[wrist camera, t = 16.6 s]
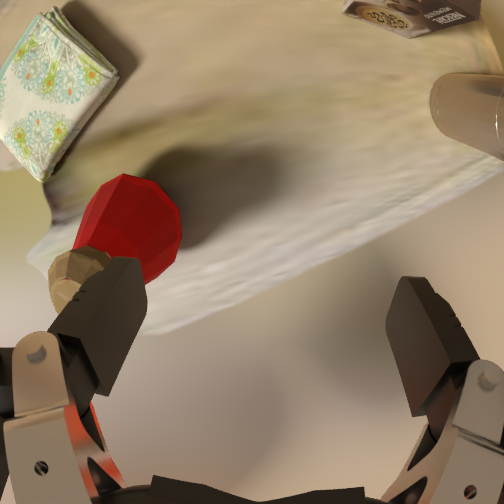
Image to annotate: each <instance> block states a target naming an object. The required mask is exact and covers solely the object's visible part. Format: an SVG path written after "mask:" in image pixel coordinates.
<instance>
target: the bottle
mask: <svg viewBox="0 0 504 504" xmlns="http://www.w3.org/2000/svg"><path fill="white" fill-rule="evenodd" d="M181 238H182V232H181V222H180V212H179V208H178V207H177V206H176V205H175V204H174V202H173V201H172V200H171V199H170V198H169V197H168V196H167V194H166V193H165V192H164V191H163V190H162V189H161V188H160V186H159V185H158V184H157V183H156V182H154V181H150V180H146V179H143V178H139V177H135V176H131V175H128V174H124V173H123V174H121V175H119V176H118V177H116V178H114V179H112V180H110V181H108V182H107V183H105V184H103V185H101V187H100V188H99V190H98V191H97V192H96V194H95V195H94V196H93V198H92V199H91V201H90V202H89V204H88V205H87V207H86V210H85V213H84V215H83V218H82V221H81V224H80V227H79V230H78V233H77V236H76V239H75V242H74V245H73V249H72V250H69V251H67V252H65V253H63V254H61V255H59V256H57V257H56V258H55V260H54V262H53V263H52V265H51V267H50V268H49V270H48V280H49V291H50V295H51V299H52V302H53V305H54V307H55V310H56V312H57V313H58V314H60V313H61V311H62V310H63V309H64V307H65V306H66V305H67V303H68V302H69V301H71V300H72V297H73V296H74V294H75V293H76V292H78V289H79V288H80V287H81V285H82V284H83V283H84V282H85V280H86V279H87V278H89V277H90V276H92V275H93V274H95V273H96V272H98V271H99V270H100V271H103V269H104V268H105V267H106V266H107V264H108V263H109V262H110V261H111V259H112V258H113V257H115V256H120V257H132V258H138V259H139V261H140V263H141V268H142V274H143V279H144V285H146V284H147V283H149V282H151V281H152V280H154V279H155V278H157V277H158V276H159V275H160V274H161V273H162V272H164V271H165V270H166V269H167V268H168V267H169V266H170V265H171V264H172V263H174V261H175V258H176V255H177V251H178V248H179V245H180V241H181Z"/></svg>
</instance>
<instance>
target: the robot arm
mask: <svg viewBox="0 0 504 504" xmlns="http://www.w3.org/2000/svg"><path fill="white" fill-rule="evenodd" d="M430 109H431V114H432V117H433V120H434V122H435V123H436V125H437V127H438V128H439V129H440V131H441V132H443V133H444V134H445V135H446V136H448V137H450V138H452V139H455V140H457V141H460V142H462V143H464V144H467V145H469V146H471V147H474V148H476V149H478V150H481V151H483V152H485V153H487V154H490V155H492V156H494V157H496V158H498V159H500V160H502V161H504V76H497V75H483V74H465V73H451V74H446V75H444V76H442V77H440V78H439V79H438V80H437V81H436V83H435V84H434V86H433V88H432V91H431V95H430ZM146 312H147V295H146V290H145V285H144V279H143V274H142V268H141V263H140V261H139V259H138V258H132V257H120V256H115V257H113V258H112V259H111V261H110V262H109V263H108V264H107V266H106V267H105V268H104V269H103V271H100V270H99V271H98V272H96V273H95V274H93V275H92V276H90V277H89V278H87V279H86V280H85V282H84V283H83V284H82V285H81V287H80V288H79V289H78V292H76V293H75V294H74V296H73V297H72V300H71V301H69V302H68V303H67V305H66V306H65V307H64V309H63V310H62V311H61V313H60V314H59V315H58V317H57V318H56V320H55V321H54V322H53V323H52V325H51V326H50V328H49V329H48V331H47V332H45V331H44V332H43V331H39V332H34V333H31V334H29V335H27V336H25V337H24V338H22V339H21V340H20V341H19V342H18V343H17V345H16V346H15V348H0V500H1V497H2V494H3V491H4V487H5V485H6V482H7V479H8V476H9V473H10V478H11V483H12V488H13V492H14V497H15V500H16V504H504V372H503V370H502V369H501V368H500V367H499V366H498V365H496V364H495V363H493V362H491V361H488V360H481V359H480V357H479V356H478V354H477V352H476V350H475V348H474V346H473V344H472V342H471V341H470V339H469V337H468V335H467V333H466V332H465V330H464V328H463V327H461V323H460V321H459V319H458V318H457V317H456V314H455V313H454V311H453V309H452V308H451V306H450V304H449V303H448V302H447V301H446V300H445V299H443V298H442V297H441V296H440V295H439V294H438V293H435V291H434V290H433V288H432V287H431V285H430V283H429V282H428V280H427V279H426V278H425V277H411V276H403V277H401V279H400V280H399V283H398V286H397V288H396V291H395V294H394V297H393V300H392V303H391V306H390V308H389V311H388V314H387V317H386V333H387V337H388V339H389V342H390V345H391V348H392V351H393V354H394V357H395V360H396V364H397V367H398V370H399V373H400V376H401V379H402V383H403V386H404V389H405V393H406V396H407V400H408V403H409V407H410V410H411V414H412V417H417V416H423V415H427V418H428V422H427V423H426V424H425V425H424V427H423V430H422V431H421V433H420V436H419V438H418V440H417V442H416V444H415V446H414V448H413V450H412V452H411V454H410V456H409V458H408V460H407V462H406V464H405V465H404V468H403V469H402V471H401V473H400V474H399V476H398V477H397V479H396V480H395V481H394V483H393V484H392V485H391V486H390V487H389V488H388V489H387V491H386V492H385V494H384V495H383V496H382V497H381V499H380V500H378V499H374V498H369V497H365V492H364V487H356V488H346V489H333V490H315V491H311V492H307V493H303V494H299V495H295V496H290V497H285V498H280V499H275V500H270V501H264V502H256V501H252V500H248V499H245V498H242V497H238V496H235V495H232V494H229V493H226V492H223V491H220V490H217V489H214V488H212V487H209V486H207V485H203V484H197V483H191V482H185V481H180V480H175V479H169V478H165V477H160V476H156V475H153V478H152V482H151V485H138V486H131V487H127V485H126V483H125V480H124V479H123V477H122V475H121V473H120V472H119V470H118V468H117V467H116V465H115V463H114V462H113V460H112V458H111V455H110V453H109V450H108V448H107V445H106V443H105V440H104V437H103V434H102V431H101V429H100V426H99V423H98V420H97V417H96V414H95V410H94V407H93V405H92V403H91V400H92V398H93V395H94V393H96V394H100V395H103V396H107V397H108V396H109V394H110V392H111V389H112V387H113V385H114V383H115V380H116V378H117V376H118V374H119V371H120V369H121V367H122V365H123V363H124V360H125V358H126V356H127V354H128V352H129V350H130V347H131V345H132V343H133V341H134V339H135V337H136V335H137V333H138V331H139V329H140V327H141V325H142V322H143V320H144V318H145V316H146Z"/></svg>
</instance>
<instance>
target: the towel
mask: <svg viewBox="0 0 504 504" xmlns="http://www.w3.org/2000/svg"><path fill="white" fill-rule="evenodd" d="M117 73H118V70H117V69H116V68H115V67H114V66H113V65H112V64H111V63H110V62H109V61H108V60H107V59H106V58H105V57H104V56H103V55H102V54H101V53H100V52H99V51H98V50H97V49H96V48H95V47H94V46H93V45H92V44H91V43H90V42H89V41H88V40H87V39H86V38H85V37H84V36H83V35H82V34H80V33H79V32H78V31H77V30H76V29H75V28H74V27H72V26H71V25H70V23H69V22H68V21H67V19H66V18H65V16H64V14H63V13H62V11H61V10H60V9H59V8H58V7H56V6H53V8H52V9H51V10H49V11H48V12H47V13H46V14H45V15H43V14H42V13H41V12H40V13H39V14H38V15H37V16H36V17H35V18H34V19H33V21H32V22H31V24H30V25H29V27H28V28H27V30H26V31H25V33H24V34H23V36H22V37H21V39H20V40H19V42H18V43H17V45H16V46H15V48H14V49H13V51H12V52H11V54H10V55H9V57H8V58H7V60H6V61H5V63H4V65H3V66H2V68H1V70H0V139H1V140H2V141H3V142H4V144H5V145H6V146H7V147H8V149H9V150H10V151H11V152H12V154H13V155H14V156H15V157H16V158H17V159H18V160H19V162H20V163H21V164H22V165H23V166H24V167H25V168H26V169H27V170H28V171H29V172H30V173H31V174H32V175H33V176H34V177H35V178H36V179H37V180H38V181H39V182H42V183H43V182H44V181H45V180H46V179H47V178H49V176H50V175H51V174H52V172H53V170H54V167H55V165H56V163H57V162H58V161H59V160H60V159H61V157H62V156H63V155H64V153H65V152H66V150H67V149H68V147H69V146H70V144H71V143H72V142H73V140H74V139H75V137H76V136H77V135H78V133H79V132H80V131H81V129H82V128H83V126H84V125H85V124H86V122H87V121H88V120H89V119H90V117H91V116H92V115H93V114H94V112H95V111H96V110H97V108H98V107H99V106H100V105H101V104H102V102H103V101H104V100H105V99H106V97H107V96H108V95H109V94H110V92H111V91H112V90H113V88H114V87H115V86H116V84H117V81H118V80H119V79H120V76H118V75H117Z"/></svg>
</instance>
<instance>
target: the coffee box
mask: <svg viewBox="0 0 504 504" xmlns="http://www.w3.org/2000/svg"><path fill="white" fill-rule="evenodd" d="M480 9H481V0H344V3H343V8H342V14H343V15H346V16H349V17H352V18H355V19H358V20H361V21H364V22H367V23H370V24H373V25H376V26H379V27H381V28H384V29H387V30H389V31H392V32H394V33H397V34H399V35H402V36H404V37H406V38H409V39H410V38H413V37H416V36H419V35H422V34H425V33H429V32H432V31H436V30H440V29H443V28H447V27H450V26H454V25H458V24H462V23H466V22H471V21H475V20H480Z"/></svg>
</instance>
